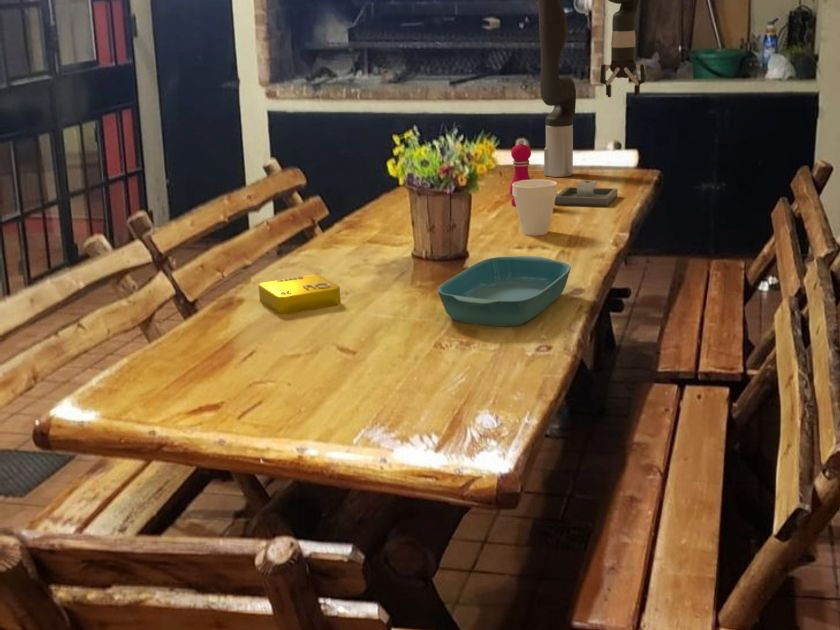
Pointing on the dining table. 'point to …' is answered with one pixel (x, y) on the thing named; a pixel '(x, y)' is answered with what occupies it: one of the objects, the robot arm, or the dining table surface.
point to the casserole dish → (504, 290)
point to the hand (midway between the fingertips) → (622, 97)
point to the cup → (534, 204)
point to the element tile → (299, 294)
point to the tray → (601, 200)
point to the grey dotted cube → (586, 188)
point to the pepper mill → (520, 164)
